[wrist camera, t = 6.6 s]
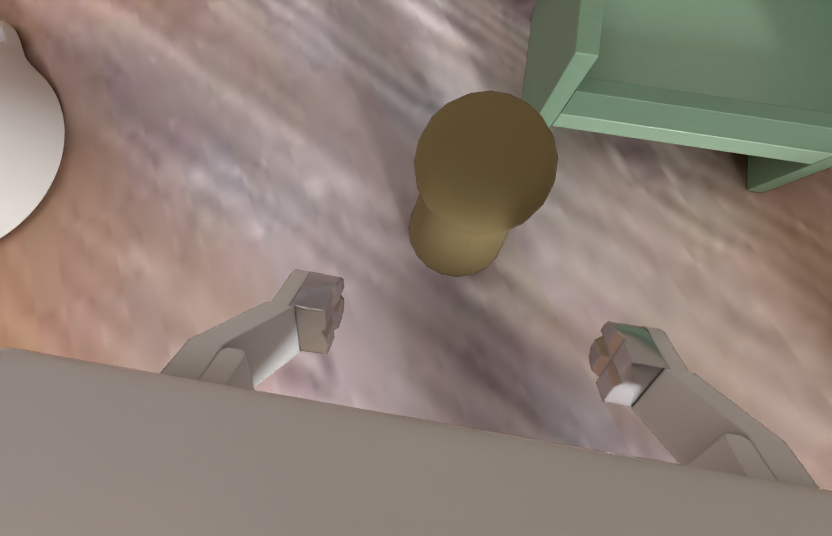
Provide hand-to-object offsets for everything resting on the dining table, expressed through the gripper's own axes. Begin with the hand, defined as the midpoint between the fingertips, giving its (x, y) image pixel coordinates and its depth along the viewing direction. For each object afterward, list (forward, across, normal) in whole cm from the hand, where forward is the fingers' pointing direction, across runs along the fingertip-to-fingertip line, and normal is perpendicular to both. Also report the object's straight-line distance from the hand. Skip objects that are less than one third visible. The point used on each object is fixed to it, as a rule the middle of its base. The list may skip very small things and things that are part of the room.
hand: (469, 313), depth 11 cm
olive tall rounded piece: (+12, 0, +4) cm, 12 cm away
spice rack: (+19, -11, -4) cm, 23 cm away
